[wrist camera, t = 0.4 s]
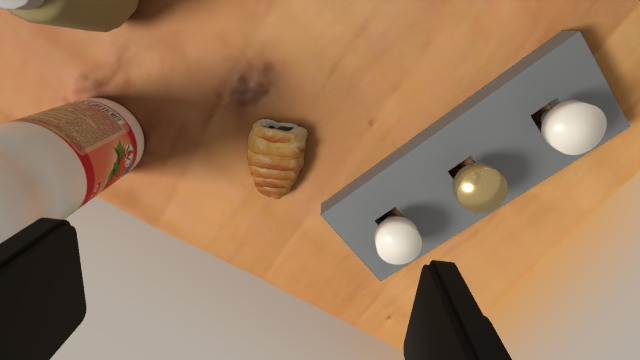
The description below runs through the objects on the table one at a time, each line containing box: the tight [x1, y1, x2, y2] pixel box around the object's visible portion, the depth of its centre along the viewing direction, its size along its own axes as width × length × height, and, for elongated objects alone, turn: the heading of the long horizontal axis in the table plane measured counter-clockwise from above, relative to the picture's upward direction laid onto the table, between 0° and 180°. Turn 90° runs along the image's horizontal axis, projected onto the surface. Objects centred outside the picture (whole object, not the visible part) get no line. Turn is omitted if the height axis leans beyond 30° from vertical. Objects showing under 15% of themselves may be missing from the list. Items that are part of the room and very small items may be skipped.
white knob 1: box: [374, 215, 422, 265], centre depth 43 cm, size 5×5×5 cm
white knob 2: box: [540, 100, 607, 155], centre depth 37 cm, size 5×5×5 cm
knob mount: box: [321, 30, 630, 281], centre depth 44 cm, size 12×32×3 cm, turn 129°
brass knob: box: [452, 162, 508, 214], centre depth 40 cm, size 5×5×5 cm
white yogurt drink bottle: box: [0, 98, 144, 243], centre depth 32 cm, size 9×9×28 cm
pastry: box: [247, 119, 308, 199], centre depth 44 cm, size 9×7×4 cm
